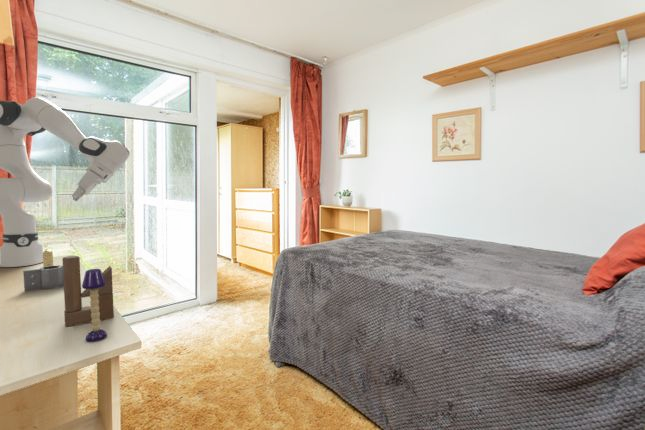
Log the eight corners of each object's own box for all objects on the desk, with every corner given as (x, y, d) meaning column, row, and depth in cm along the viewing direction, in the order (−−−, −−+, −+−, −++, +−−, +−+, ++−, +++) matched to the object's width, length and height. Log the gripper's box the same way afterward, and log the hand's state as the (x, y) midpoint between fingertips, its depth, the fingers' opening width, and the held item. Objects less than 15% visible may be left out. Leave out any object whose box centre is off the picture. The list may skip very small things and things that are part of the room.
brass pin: (43, 277, 131) (41, 250, 130) (53, 276, 133) (51, 249, 133) (45, 279, 129) (43, 251, 128) (54, 277, 132) (53, 250, 131)
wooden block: (114, 318, 93) (111, 254, 91) (65, 327, 86) (61, 259, 85) (112, 314, 96) (109, 252, 94) (64, 323, 89) (61, 256, 88)
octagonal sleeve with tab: (23, 289, 117) (21, 269, 116) (75, 280, 128) (74, 262, 127) (26, 293, 113) (25, 272, 112) (79, 283, 124) (78, 265, 123)
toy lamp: (80, 339, 80) (76, 270, 78) (100, 331, 84) (97, 266, 83) (93, 343, 78) (89, 273, 76) (112, 335, 82) (109, 268, 81)
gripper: (91, 173, 149) (67, 197, 143) (91, 163, 132) (64, 190, 127) (104, 182, 152) (82, 206, 146) (106, 174, 135) (81, 200, 129)
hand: (73, 198), depth 136 cm, fingers open, 8 cm apart
